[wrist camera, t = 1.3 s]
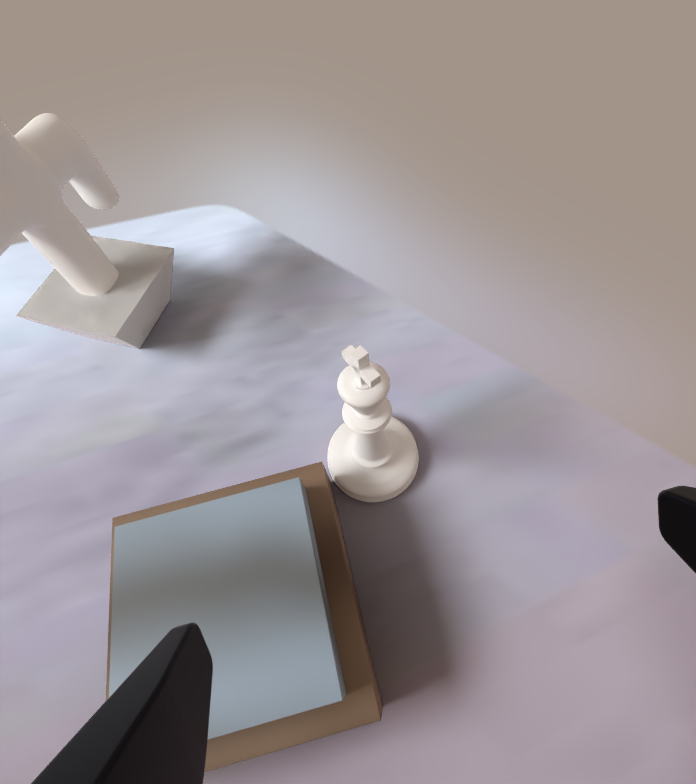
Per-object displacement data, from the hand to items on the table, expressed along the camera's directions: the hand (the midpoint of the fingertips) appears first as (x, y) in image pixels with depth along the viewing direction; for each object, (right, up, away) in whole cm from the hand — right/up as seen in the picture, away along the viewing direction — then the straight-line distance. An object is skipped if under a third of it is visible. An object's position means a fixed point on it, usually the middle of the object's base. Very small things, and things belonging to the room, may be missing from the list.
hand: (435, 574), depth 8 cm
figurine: (-17, +9, +22) cm, 29 cm away
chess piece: (0, 0, +15) cm, 15 cm away
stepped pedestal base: (-6, -7, +12) cm, 15 cm away
